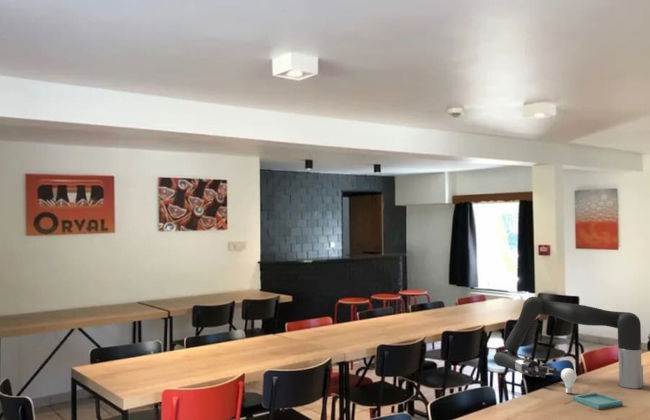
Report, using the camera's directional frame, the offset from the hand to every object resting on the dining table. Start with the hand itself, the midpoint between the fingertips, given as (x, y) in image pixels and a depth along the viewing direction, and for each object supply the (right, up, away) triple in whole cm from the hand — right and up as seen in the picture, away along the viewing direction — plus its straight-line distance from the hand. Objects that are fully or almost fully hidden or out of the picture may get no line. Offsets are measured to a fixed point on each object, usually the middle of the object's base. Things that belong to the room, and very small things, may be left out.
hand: (552, 374), depth 256 cm
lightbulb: (+4, -6, -9) cm, 11 cm away
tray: (+9, -5, -23) cm, 25 cm away
